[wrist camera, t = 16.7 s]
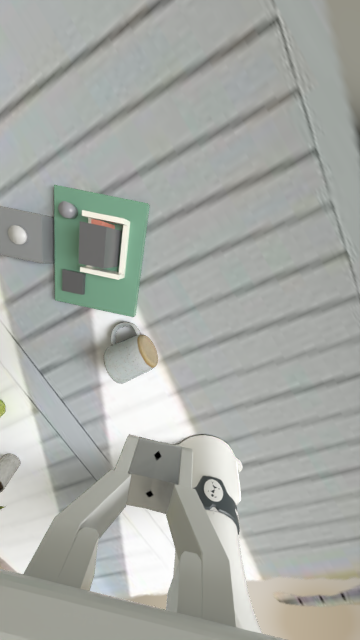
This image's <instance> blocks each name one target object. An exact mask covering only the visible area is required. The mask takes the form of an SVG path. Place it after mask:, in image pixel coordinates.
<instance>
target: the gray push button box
mask: <svg viewBox="0 0 360 640" xmlns="http://www.w3.org/2000/svg"><path fill="white" fill-rule="evenodd" d="M0 255H4V256H9V257H14V258H18V259H23V260H28V261H33V262H37V263H42V264H44V263H54V218H53V217H49V216H45V215H41V214H37V213H32V212H27V211H22V210H17V209H12V208H7V207H2V206H0Z"/></svg>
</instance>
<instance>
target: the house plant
mask: <svg viewBox="0 0 360 640" xmlns="http://www.w3.org/2000/svg"><path fill="white" fill-rule="evenodd" d="M19 466H20V460H19V458H18V457H17V456H15V455H13V454H6V455H4V456H3V457H2V458H0V492H2V491H3V490H4V488H5V487H6V485H7V484H8V482H9V481H10V479H11V478H12V476H13V475H14V473H15V472H16V470H17V469H18V467H19ZM5 507H6V506H5ZM2 508H4V507H2V506H0V509H1V510H2Z"/></svg>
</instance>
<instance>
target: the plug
mask: <svg viewBox="0 0 360 640" xmlns="http://www.w3.org/2000/svg"><path fill="white" fill-rule="evenodd" d="M121 232H122V231H119V230H116V229H115V225H112V224H109V223H106V222H104V221H100V220H95V219H91V223H86V222H81V221H80V228H79V264H84V265H89V266H93V267H98V268H103V269H104V268H111V267H118V264H119V253H120V242H121Z"/></svg>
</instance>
